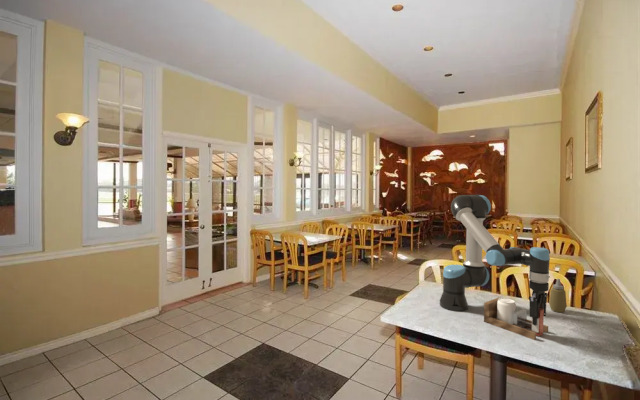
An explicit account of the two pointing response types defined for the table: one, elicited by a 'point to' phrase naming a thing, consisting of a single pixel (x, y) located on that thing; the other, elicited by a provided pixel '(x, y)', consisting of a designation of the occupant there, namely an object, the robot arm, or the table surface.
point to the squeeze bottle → (558, 298)
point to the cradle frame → (491, 318)
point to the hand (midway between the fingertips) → (537, 330)
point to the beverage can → (506, 310)
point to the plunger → (521, 320)
